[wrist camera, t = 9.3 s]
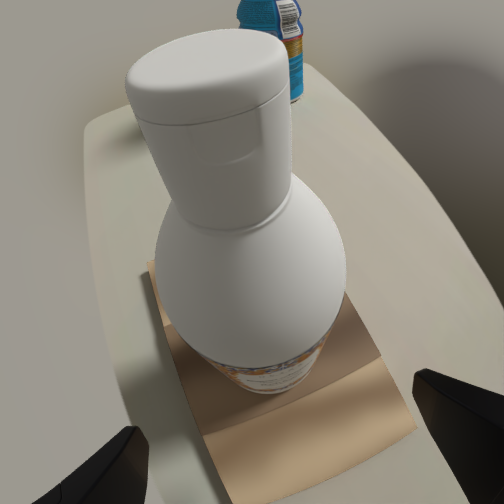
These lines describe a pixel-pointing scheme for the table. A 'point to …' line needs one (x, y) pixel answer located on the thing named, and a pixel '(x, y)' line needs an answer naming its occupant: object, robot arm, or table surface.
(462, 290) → the table surface
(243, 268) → the bath foam
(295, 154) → the table surface
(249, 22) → the beverage bottle
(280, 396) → the wooden board
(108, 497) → the robot arm
